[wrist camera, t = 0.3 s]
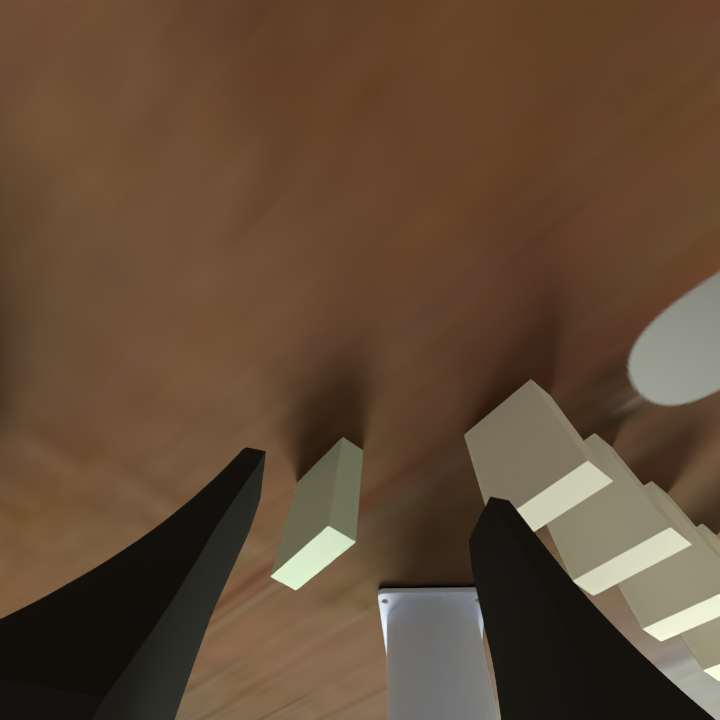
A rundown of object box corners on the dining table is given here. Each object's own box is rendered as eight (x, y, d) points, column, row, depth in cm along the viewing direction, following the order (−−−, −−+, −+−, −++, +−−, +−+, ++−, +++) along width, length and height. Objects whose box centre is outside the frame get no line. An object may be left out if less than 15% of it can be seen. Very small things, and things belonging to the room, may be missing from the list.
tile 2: (666, 493, 24) (759, 599, 18) (597, 534, 25) (661, 641, 20) (651, 480, 23) (741, 584, 17) (582, 523, 25) (642, 628, 19)
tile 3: (612, 447, 22) (692, 544, 16) (543, 493, 24) (593, 595, 18) (594, 433, 22) (670, 526, 16) (526, 481, 24) (572, 581, 18)
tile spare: (363, 450, 23) (355, 542, 18) (316, 494, 25) (296, 590, 20) (342, 436, 23) (328, 525, 17) (297, 482, 25) (270, 576, 19)
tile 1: (716, 535, 25) (817, 646, 19) (646, 570, 27) (719, 681, 21) (702, 523, 24) (801, 633, 19) (633, 560, 26) (703, 670, 21)
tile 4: (550, 395, 21) (613, 481, 15) (482, 448, 23) (516, 543, 17) (530, 378, 21) (587, 460, 15) (463, 434, 22) (491, 526, 17)
